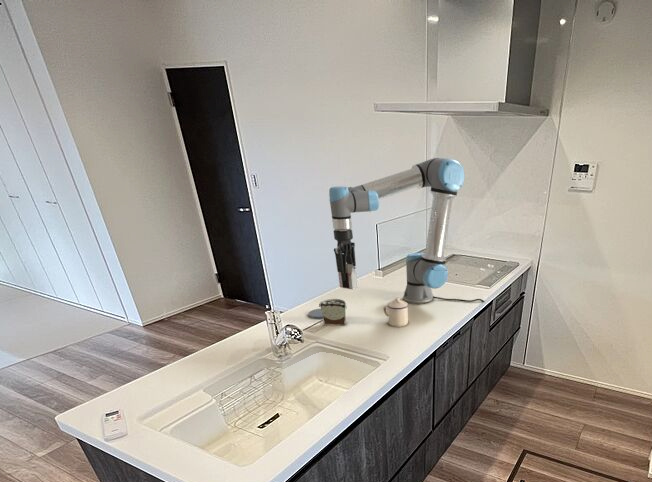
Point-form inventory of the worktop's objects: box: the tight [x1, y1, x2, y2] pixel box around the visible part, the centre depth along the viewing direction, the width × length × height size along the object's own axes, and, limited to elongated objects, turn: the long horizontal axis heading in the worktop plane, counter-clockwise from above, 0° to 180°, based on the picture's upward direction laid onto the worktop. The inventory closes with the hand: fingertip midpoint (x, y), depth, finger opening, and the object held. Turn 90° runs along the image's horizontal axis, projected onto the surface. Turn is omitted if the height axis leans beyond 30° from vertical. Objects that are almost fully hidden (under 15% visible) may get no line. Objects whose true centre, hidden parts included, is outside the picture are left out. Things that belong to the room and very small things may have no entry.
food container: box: [318, 298, 348, 326], centre depth 191 cm, size 12×6×10 cm, turn 84°
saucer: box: [308, 308, 323, 320], centre depth 201 cm, size 11×11×1 cm
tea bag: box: [337, 263, 359, 290], centre depth 184 cm, size 4×7×10 cm, turn 64°
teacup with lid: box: [383, 297, 409, 328], centre depth 191 cm, size 12×9×12 cm
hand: (348, 285), depth 186 cm, fingers closed on tea bag, 4 cm apart
